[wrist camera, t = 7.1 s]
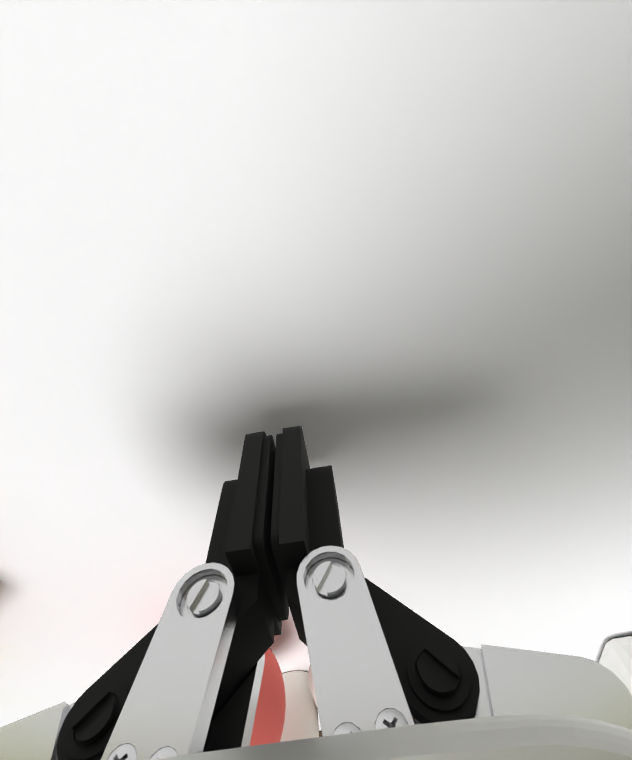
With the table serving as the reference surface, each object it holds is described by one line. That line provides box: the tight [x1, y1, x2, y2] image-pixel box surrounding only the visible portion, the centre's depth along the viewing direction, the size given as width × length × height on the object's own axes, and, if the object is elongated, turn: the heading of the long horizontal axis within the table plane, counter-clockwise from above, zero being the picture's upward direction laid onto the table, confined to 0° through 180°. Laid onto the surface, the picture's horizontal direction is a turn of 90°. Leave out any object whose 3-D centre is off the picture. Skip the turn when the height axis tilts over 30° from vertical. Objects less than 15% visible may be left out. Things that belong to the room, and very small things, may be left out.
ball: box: [250, 648, 286, 746], centre depth 16 cm, size 6×6×6 cm
